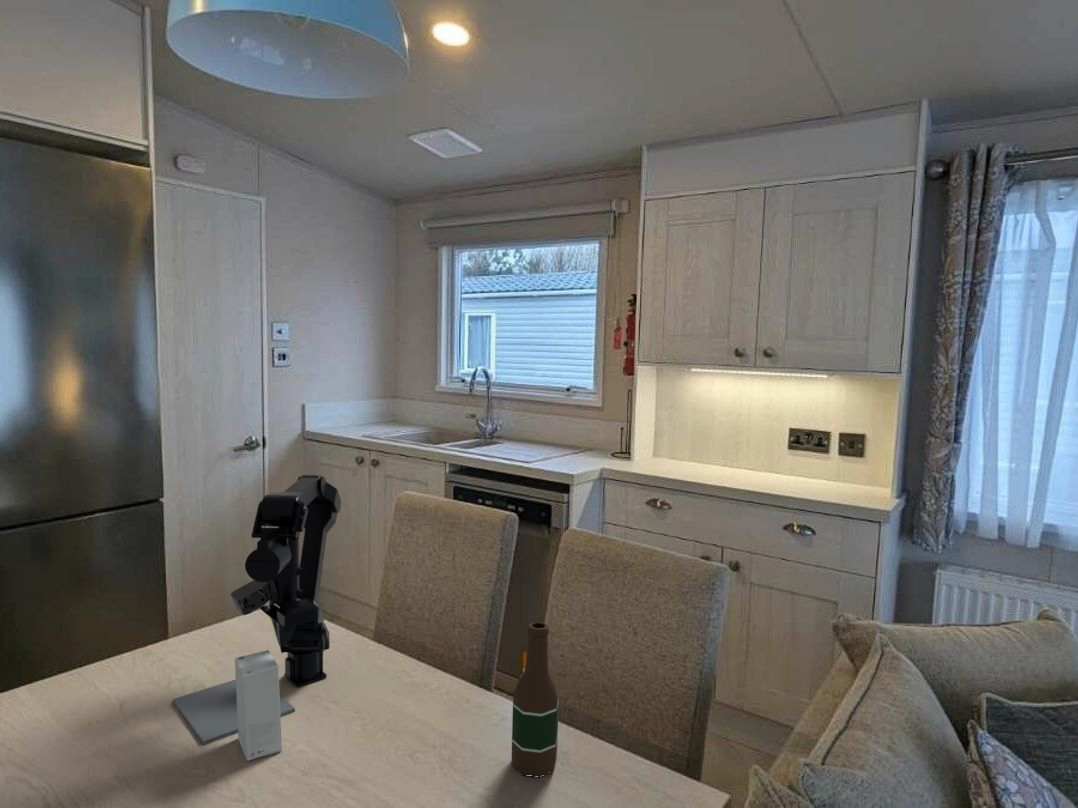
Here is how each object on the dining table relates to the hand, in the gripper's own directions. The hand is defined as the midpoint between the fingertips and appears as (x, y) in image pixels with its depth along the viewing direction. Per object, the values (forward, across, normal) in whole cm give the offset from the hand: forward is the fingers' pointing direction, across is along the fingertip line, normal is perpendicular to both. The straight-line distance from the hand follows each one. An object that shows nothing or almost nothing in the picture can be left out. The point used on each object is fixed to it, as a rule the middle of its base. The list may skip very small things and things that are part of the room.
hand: (282, 646), depth 123 cm
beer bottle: (+14, +41, +26) cm, 50 cm away
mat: (+13, -9, -6) cm, 17 cm away
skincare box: (+14, +6, -7) cm, 16 cm away
